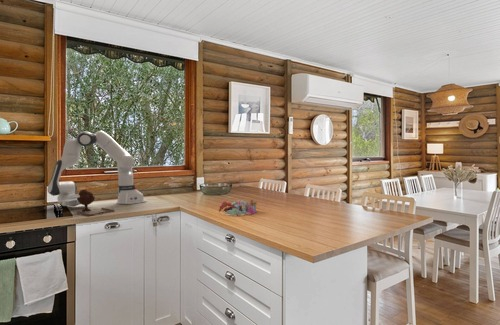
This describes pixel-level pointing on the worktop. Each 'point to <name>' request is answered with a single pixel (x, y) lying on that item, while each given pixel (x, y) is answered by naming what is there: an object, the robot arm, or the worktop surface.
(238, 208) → the coral reef ornament
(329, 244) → the worktop surface
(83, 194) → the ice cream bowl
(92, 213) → the walnut bay
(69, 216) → the worktop surface
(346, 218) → the worktop surface
